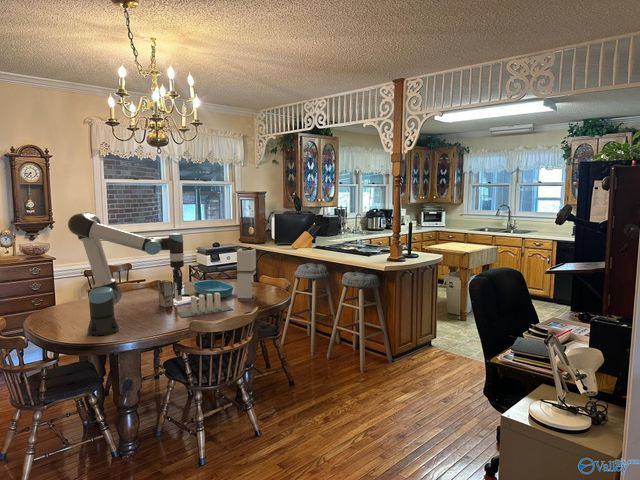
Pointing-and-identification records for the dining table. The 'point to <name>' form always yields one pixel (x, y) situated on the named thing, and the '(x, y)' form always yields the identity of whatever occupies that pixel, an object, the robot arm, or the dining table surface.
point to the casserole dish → (213, 288)
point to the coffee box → (165, 293)
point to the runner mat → (189, 313)
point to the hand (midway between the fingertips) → (178, 299)
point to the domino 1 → (176, 291)
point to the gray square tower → (246, 274)
